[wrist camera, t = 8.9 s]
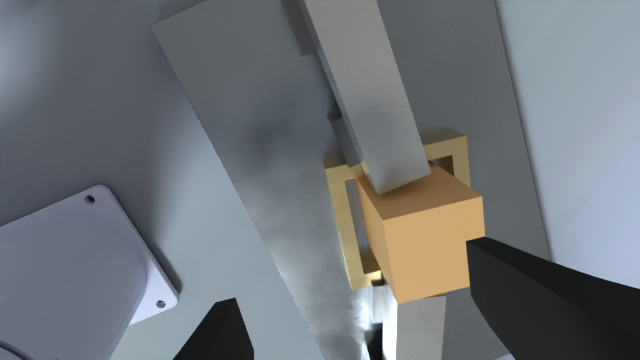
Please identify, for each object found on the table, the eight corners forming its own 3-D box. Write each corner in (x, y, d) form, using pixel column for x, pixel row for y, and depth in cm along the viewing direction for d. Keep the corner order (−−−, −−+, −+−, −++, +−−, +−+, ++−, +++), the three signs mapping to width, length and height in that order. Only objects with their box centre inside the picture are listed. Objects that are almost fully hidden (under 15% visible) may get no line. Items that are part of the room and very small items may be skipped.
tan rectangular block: (437, 225, 21) (488, 281, 16) (368, 242, 21) (397, 304, 16) (428, 158, 20) (481, 196, 15) (355, 176, 20) (382, 220, 15)
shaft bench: (352, 402, 26) (367, 477, 21) (156, 27, 17) (112, 17, 13) (555, 320, 26) (616, 379, 21) (457, -107, 17) (524, -167, 12)
